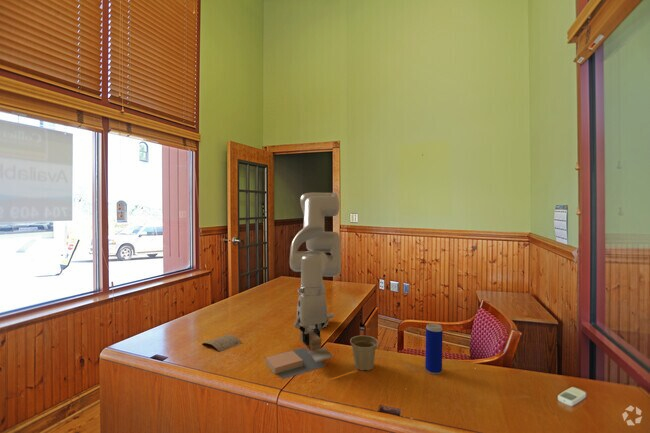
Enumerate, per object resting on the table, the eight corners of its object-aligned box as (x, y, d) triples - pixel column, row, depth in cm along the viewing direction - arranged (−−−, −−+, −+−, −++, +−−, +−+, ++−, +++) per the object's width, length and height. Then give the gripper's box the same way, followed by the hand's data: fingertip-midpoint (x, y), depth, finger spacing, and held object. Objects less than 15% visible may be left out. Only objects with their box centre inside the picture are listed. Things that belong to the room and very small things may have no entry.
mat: (304, 348, 119) (304, 347, 119) (326, 366, 105) (326, 365, 105) (264, 358, 110) (264, 357, 110) (282, 380, 97) (282, 379, 97)
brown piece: (332, 357, 104) (333, 345, 103) (315, 362, 100) (316, 350, 100) (311, 336, 116) (312, 326, 115) (296, 340, 112) (296, 329, 112)
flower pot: (346, 370, 103) (346, 344, 103) (353, 357, 112) (354, 333, 111) (374, 376, 100) (375, 349, 99) (380, 362, 108) (380, 337, 108)
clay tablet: (244, 346, 121) (244, 339, 121) (222, 356, 113) (222, 349, 113) (222, 337, 130) (222, 330, 130) (199, 345, 122) (199, 338, 122)
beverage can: (441, 368, 105) (442, 323, 104) (442, 376, 100) (442, 329, 99) (425, 365, 106) (426, 321, 106) (425, 373, 101) (425, 327, 101)
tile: (292, 350, 111) (302, 360, 105) (292, 356, 112) (302, 365, 105) (265, 357, 106) (274, 367, 99) (265, 363, 106) (274, 374, 100)
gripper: (294, 296, 102) (294, 352, 102) (337, 289, 110) (337, 341, 111) (285, 291, 108) (285, 343, 108) (326, 285, 117) (326, 334, 117)
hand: (311, 342), depth 109 cm, fingers closed on brown piece, 3 cm apart
